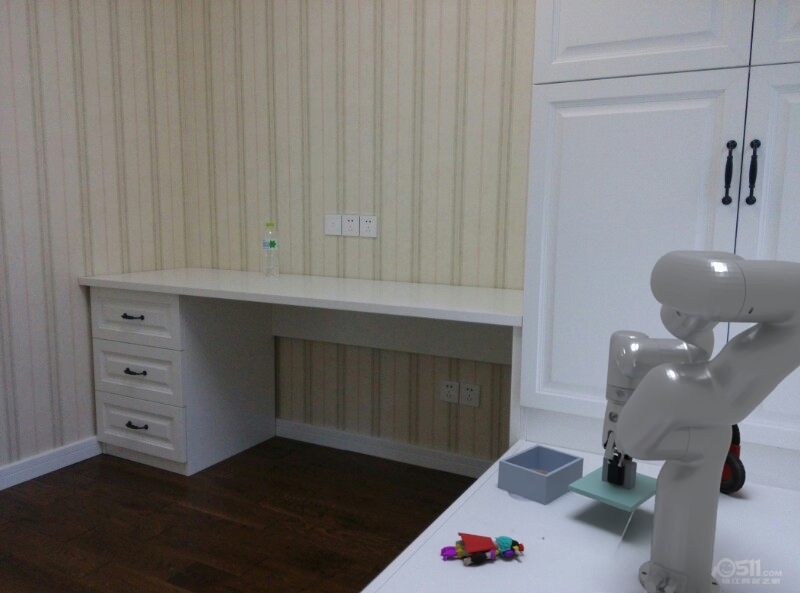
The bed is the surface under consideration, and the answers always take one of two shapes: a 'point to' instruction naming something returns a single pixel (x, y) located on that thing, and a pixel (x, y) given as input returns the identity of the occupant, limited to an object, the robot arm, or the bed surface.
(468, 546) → the toy
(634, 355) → the robot arm
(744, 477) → the headphones
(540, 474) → the box
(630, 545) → the bed surface
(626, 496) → the lid
